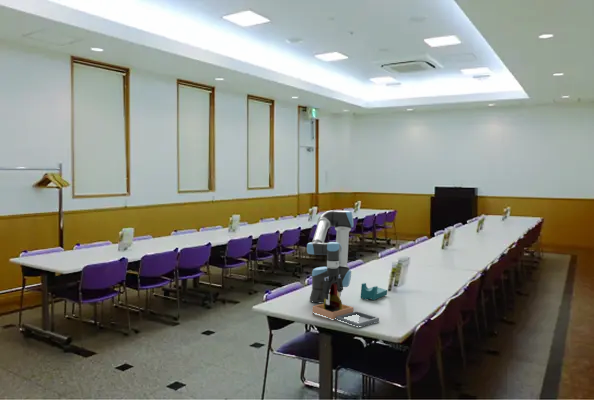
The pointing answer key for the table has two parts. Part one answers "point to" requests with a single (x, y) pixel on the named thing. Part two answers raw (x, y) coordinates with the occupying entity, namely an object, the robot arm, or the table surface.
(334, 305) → the bottle
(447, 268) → the table surface
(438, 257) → the table surface
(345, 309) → the holder
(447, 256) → the table surface
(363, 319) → the tray
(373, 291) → the teal l-shaped bracket
